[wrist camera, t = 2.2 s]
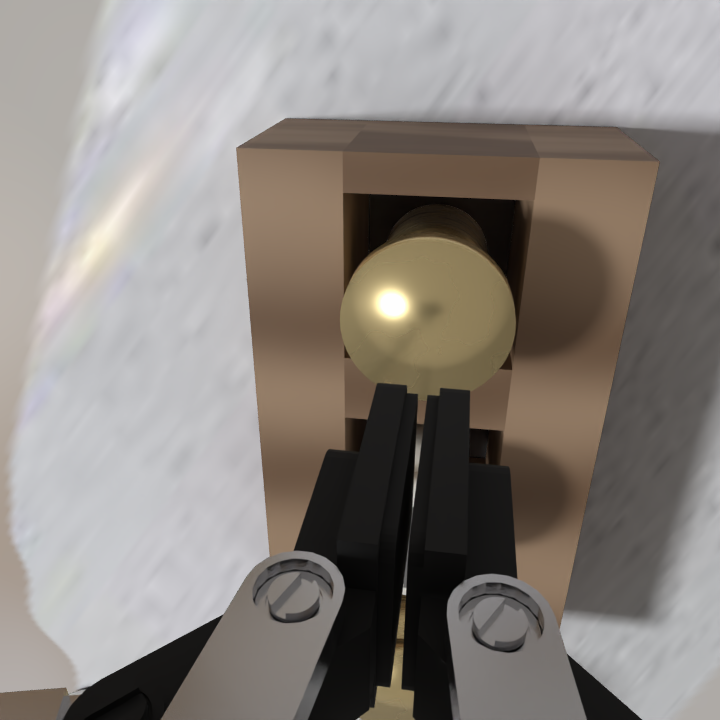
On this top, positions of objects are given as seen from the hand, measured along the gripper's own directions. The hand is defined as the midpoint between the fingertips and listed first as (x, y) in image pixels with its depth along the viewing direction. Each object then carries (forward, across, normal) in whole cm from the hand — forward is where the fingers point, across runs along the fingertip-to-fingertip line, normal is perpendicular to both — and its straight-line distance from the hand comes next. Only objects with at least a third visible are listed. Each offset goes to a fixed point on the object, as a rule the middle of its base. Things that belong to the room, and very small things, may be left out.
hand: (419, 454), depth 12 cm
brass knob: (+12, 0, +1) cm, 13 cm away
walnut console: (+15, 0, +9) cm, 18 cm away
